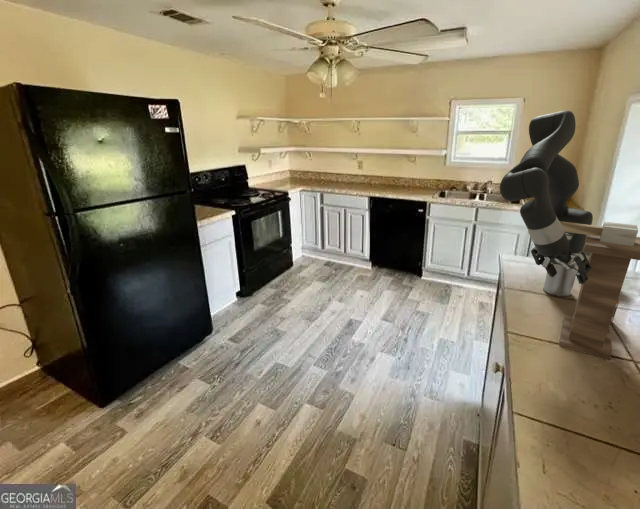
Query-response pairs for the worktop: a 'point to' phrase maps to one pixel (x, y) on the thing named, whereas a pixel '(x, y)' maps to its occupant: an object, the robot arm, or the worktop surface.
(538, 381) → the worktop surface
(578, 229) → the grey and beige bar
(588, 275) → the stand
